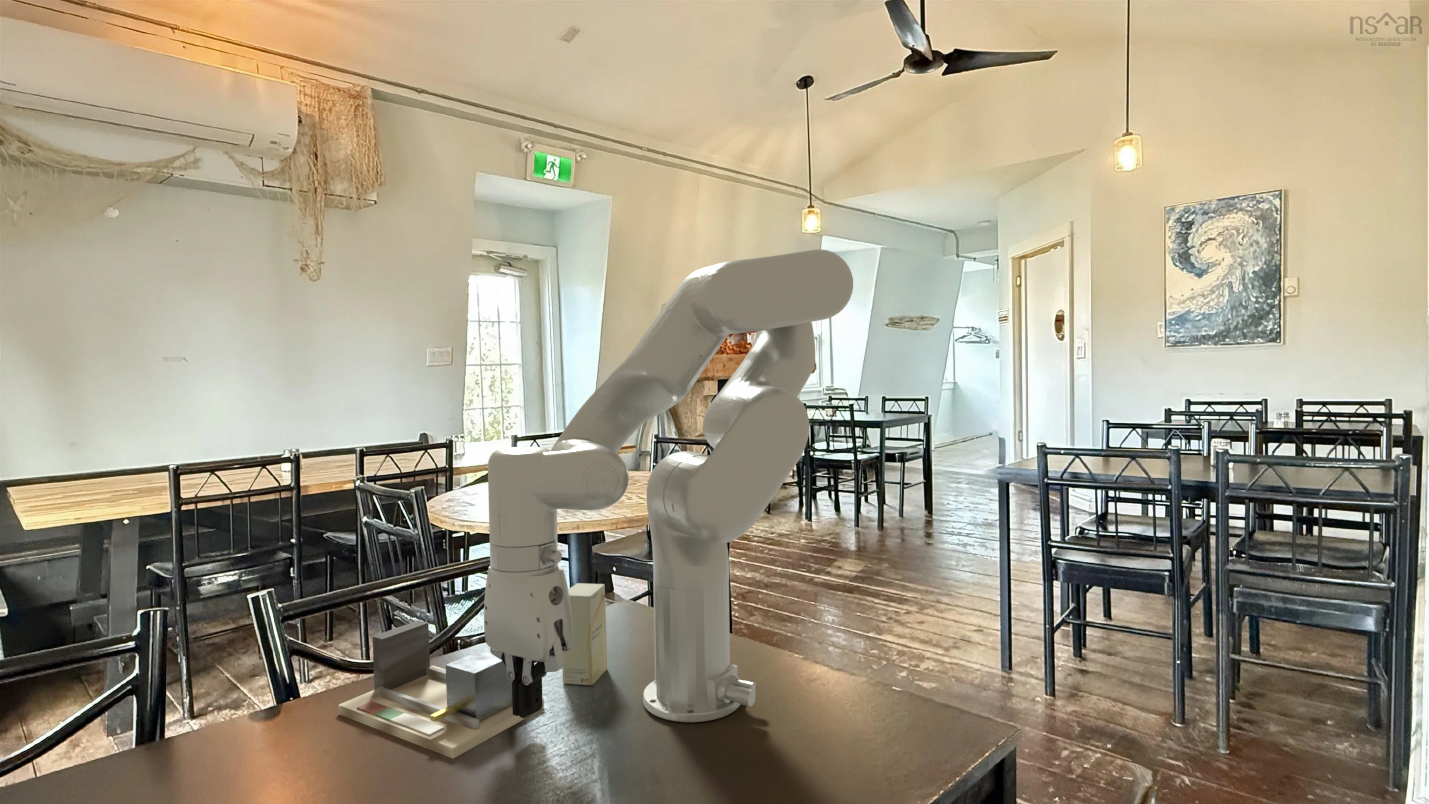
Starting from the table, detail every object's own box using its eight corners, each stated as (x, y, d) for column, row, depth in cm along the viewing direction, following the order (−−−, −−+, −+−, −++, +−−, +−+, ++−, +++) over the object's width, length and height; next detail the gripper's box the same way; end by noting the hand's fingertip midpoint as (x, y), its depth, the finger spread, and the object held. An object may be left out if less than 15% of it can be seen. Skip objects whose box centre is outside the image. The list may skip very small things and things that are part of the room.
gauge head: (514, 703, 94) (513, 655, 94) (447, 738, 86) (446, 686, 85) (486, 694, 97) (484, 648, 97) (418, 727, 88) (416, 676, 88)
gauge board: (544, 708, 96) (542, 643, 95) (453, 758, 84) (450, 685, 83) (433, 673, 107) (430, 615, 106) (338, 714, 95) (335, 649, 94)
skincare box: (592, 687, 102) (590, 596, 101) (561, 684, 103) (558, 595, 102) (608, 668, 108) (606, 583, 107) (578, 666, 109) (576, 581, 108)
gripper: (596, 556, 87) (599, 714, 88) (502, 541, 95) (506, 686, 96) (549, 572, 81) (553, 742, 82) (453, 554, 88) (457, 710, 89)
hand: (527, 711), depth 89 cm, fingers closed
